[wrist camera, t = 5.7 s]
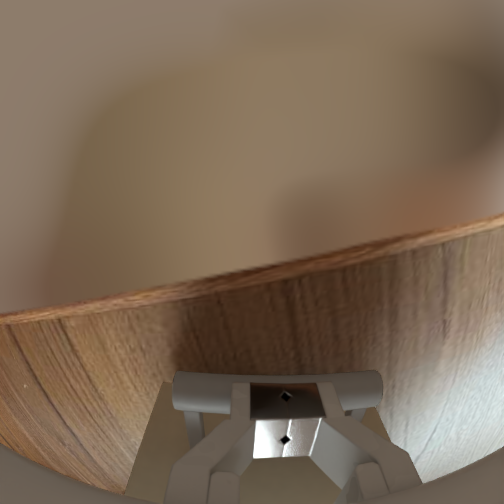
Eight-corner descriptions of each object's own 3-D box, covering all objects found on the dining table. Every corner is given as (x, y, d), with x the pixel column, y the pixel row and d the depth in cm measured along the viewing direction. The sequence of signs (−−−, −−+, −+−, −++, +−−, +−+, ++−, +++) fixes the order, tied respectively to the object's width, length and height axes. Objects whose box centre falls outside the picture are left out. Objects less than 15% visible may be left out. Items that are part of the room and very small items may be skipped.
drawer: (152, 307, 13) (79, 424, 6) (383, 311, 14) (466, 415, 6) (188, 488, 18) (177, 561, 11) (320, 489, 18) (333, 559, 11)
